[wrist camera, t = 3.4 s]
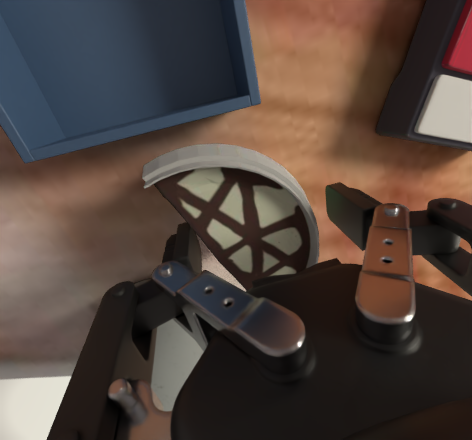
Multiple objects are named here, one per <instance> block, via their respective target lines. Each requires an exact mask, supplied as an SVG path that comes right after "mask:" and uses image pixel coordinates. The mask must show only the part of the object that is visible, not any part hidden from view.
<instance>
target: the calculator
mask: <svg viewBox="0 0 472 440" xmlns="http://www.w3.org/2000/svg"><path fill="white" fill-rule="evenodd" d="M376 133H377V134H379V135H383V136H389V137H394V138H400V139H406V140H411V141H417V142H423V143H428V144H434V145H440V146H445V147H451V148H457V149H462V150H468V151H472V0H426V3H425V6H424V9H423V12H422V14H421V17H420V20H419V23H418V26H417V29H416V31H415V34H414V37H413V40H412V43H411V45H410V48H409V51H408V54H407V57H406V59H405V62H404V65H403V68H402V70H401V72H400V74H399V75H398V76H397V78H396V79H395V81H394V82H393V83H392V85H391V87H390V90H389V93H388V96H387V99H386V101H385V104H384V107H383V110H382V113H381V116H380V119H379V122H378V124H377V127H376Z"/></svg>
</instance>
